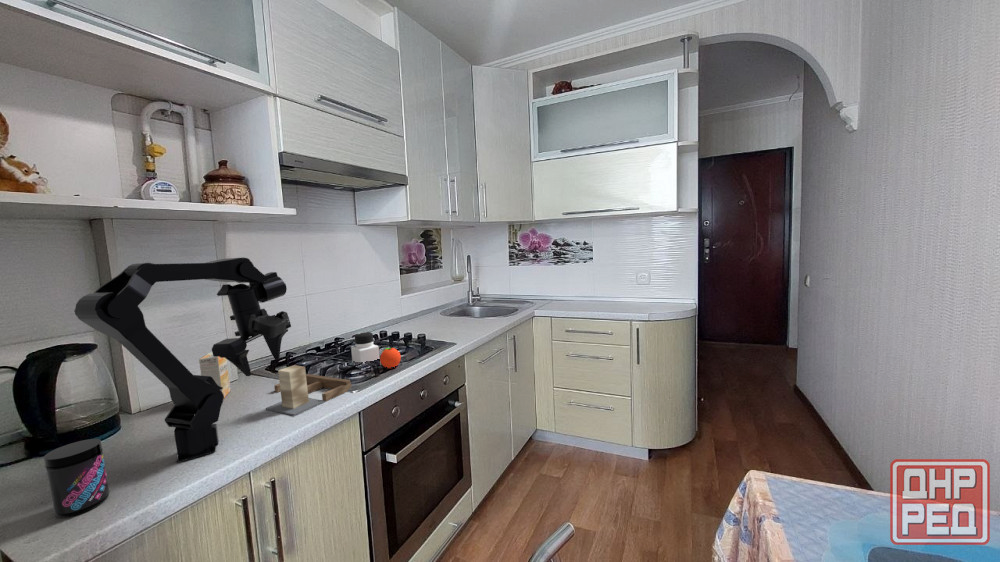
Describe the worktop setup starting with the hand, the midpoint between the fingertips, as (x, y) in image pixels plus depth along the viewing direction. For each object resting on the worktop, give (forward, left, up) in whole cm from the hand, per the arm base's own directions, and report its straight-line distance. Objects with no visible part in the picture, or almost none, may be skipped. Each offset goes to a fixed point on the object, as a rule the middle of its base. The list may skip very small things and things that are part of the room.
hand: (263, 367), depth 99 cm
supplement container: (-29, -20, -13) cm, 38 cm away
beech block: (+6, +3, -13) cm, 15 cm away
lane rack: (+12, +13, -13) cm, 22 cm away
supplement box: (-12, +28, -13) cm, 33 cm away
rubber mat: (+6, +3, -13) cm, 15 cm away
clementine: (+37, +18, -13) cm, 43 cm away
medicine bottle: (+31, +26, -13) cm, 43 cm away
